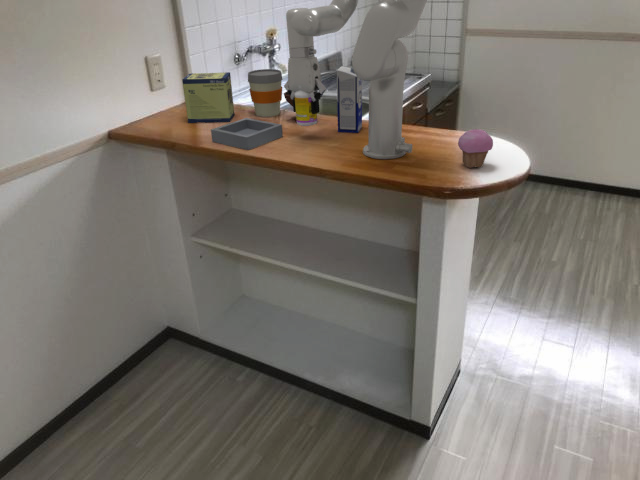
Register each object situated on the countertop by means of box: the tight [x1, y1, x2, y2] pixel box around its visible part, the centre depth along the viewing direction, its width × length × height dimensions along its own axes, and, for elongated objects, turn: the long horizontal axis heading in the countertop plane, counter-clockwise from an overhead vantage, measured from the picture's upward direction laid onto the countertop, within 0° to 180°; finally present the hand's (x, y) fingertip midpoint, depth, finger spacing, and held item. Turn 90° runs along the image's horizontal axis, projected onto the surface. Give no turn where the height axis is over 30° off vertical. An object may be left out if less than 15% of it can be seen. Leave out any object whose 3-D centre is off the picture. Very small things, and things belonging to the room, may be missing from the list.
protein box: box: [181, 71, 235, 124], centre depth 194 cm, size 10×16×16 cm
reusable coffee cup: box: [247, 68, 283, 118], centre depth 198 cm, size 13×13×15 cm
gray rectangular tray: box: [210, 117, 284, 151], centre depth 173 cm, size 16×16×4 cm
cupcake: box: [457, 128, 494, 169], centre depth 144 cm, size 9×9×10 cm
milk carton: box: [336, 65, 363, 134], centre depth 175 cm, size 7×7×20 cm
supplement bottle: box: [295, 85, 318, 127], centre depth 169 cm, size 7×7×13 cm
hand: (306, 111), depth 170 cm, fingers closed on supplement bottle, 6 cm apart
